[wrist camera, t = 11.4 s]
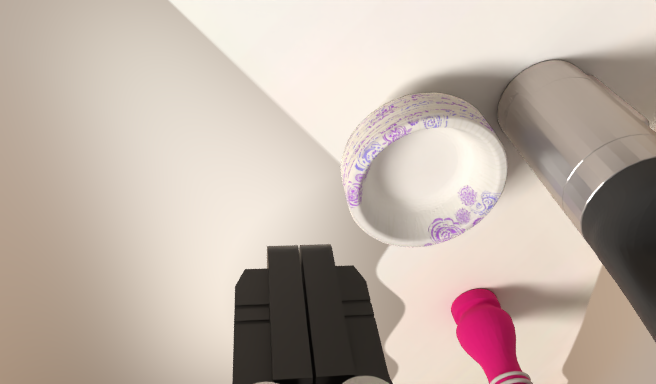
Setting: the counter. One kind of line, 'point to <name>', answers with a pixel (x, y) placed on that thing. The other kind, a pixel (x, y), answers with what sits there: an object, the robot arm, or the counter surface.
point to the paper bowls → (422, 170)
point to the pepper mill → (488, 336)
